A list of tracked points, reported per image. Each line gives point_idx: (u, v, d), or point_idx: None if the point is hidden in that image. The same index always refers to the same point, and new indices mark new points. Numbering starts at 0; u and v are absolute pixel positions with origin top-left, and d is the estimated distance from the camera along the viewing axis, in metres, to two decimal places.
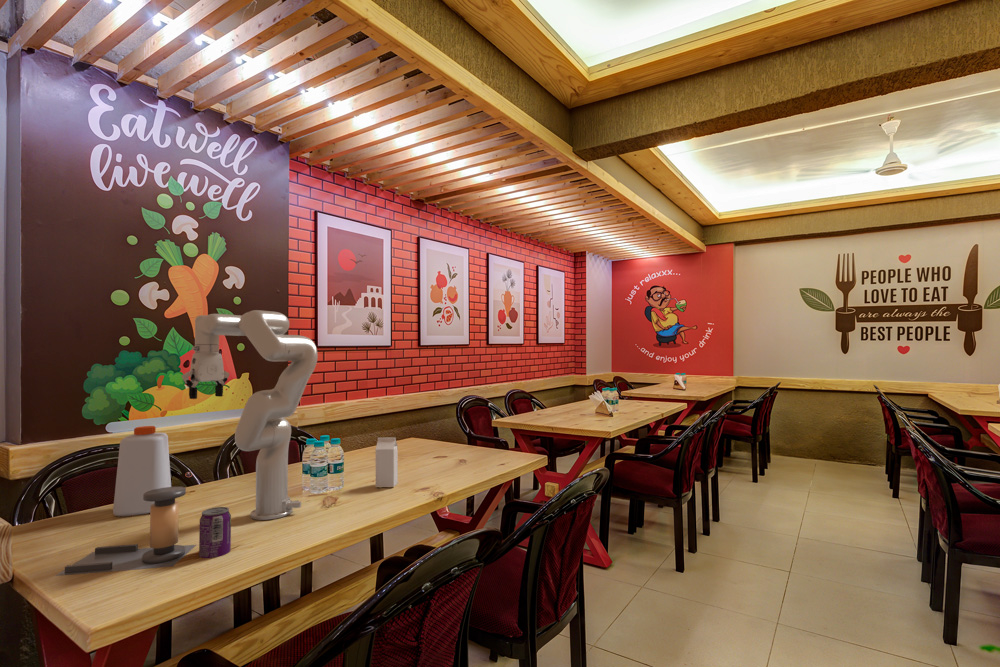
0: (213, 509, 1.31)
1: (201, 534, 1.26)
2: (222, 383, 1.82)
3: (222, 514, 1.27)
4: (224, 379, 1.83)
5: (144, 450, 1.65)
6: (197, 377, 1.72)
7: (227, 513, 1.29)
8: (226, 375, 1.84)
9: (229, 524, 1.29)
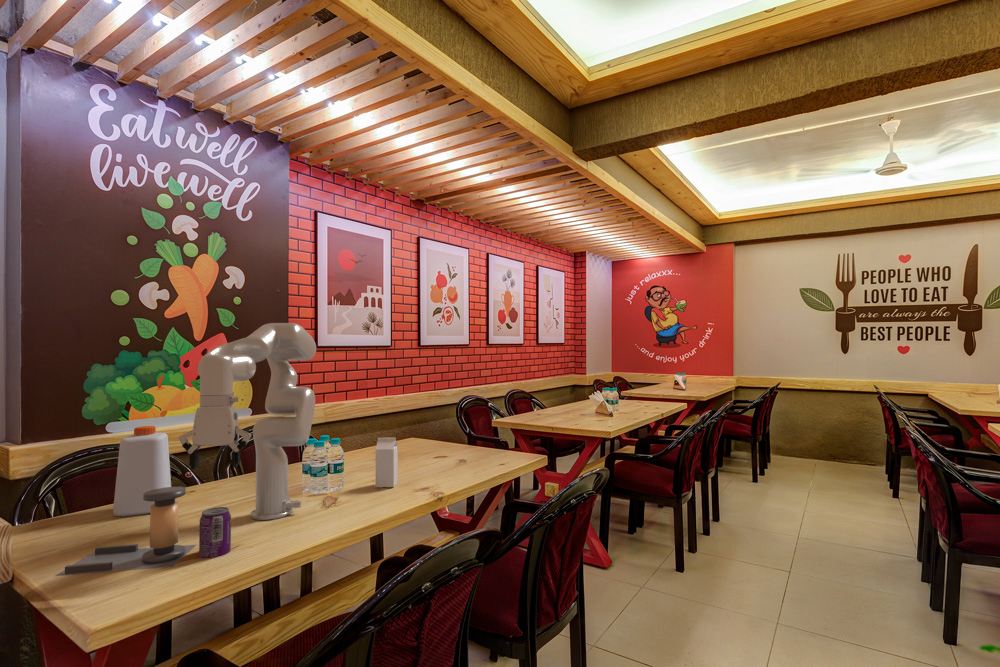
0: (213, 509, 1.31)
1: (201, 534, 1.26)
2: None
3: (222, 514, 1.27)
4: (190, 444, 1.30)
5: (144, 450, 1.65)
6: (238, 436, 1.33)
7: (227, 513, 1.29)
8: None
9: (229, 524, 1.29)
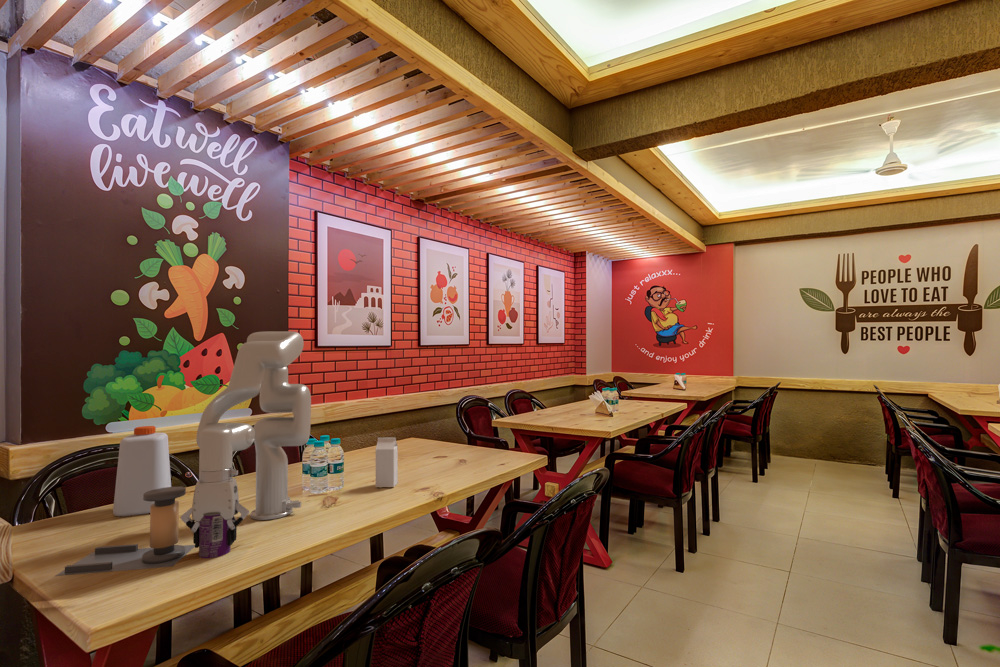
0: None
1: (201, 534, 1.26)
2: None
3: None
4: (193, 521, 1.29)
5: (144, 450, 1.65)
6: None
7: None
8: None
9: None
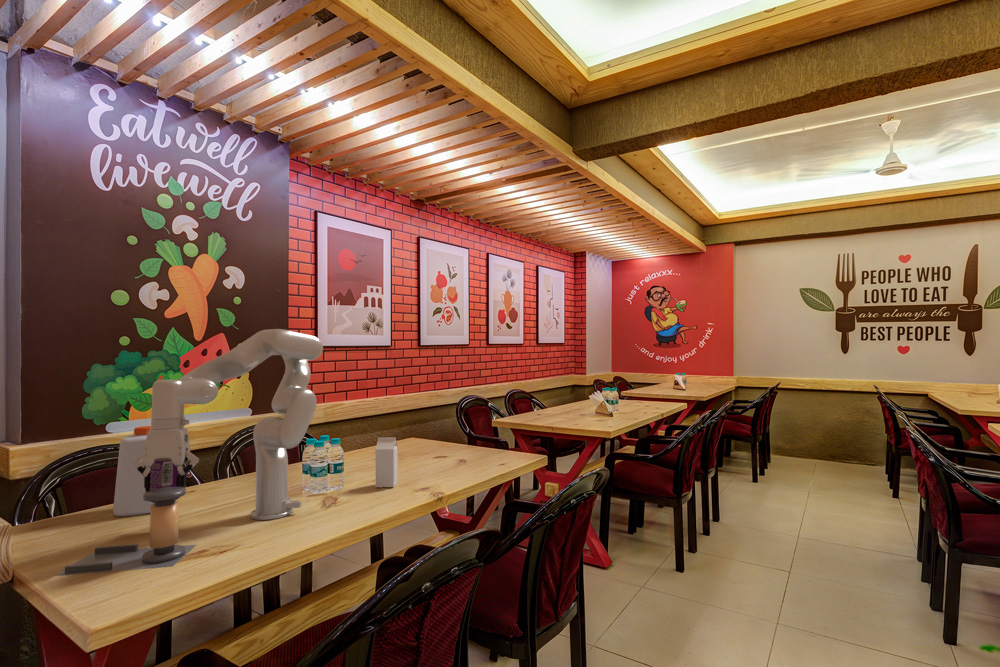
0: None
1: (151, 478, 1.33)
2: None
3: None
4: (145, 467, 1.36)
5: None
6: None
7: None
8: None
9: None
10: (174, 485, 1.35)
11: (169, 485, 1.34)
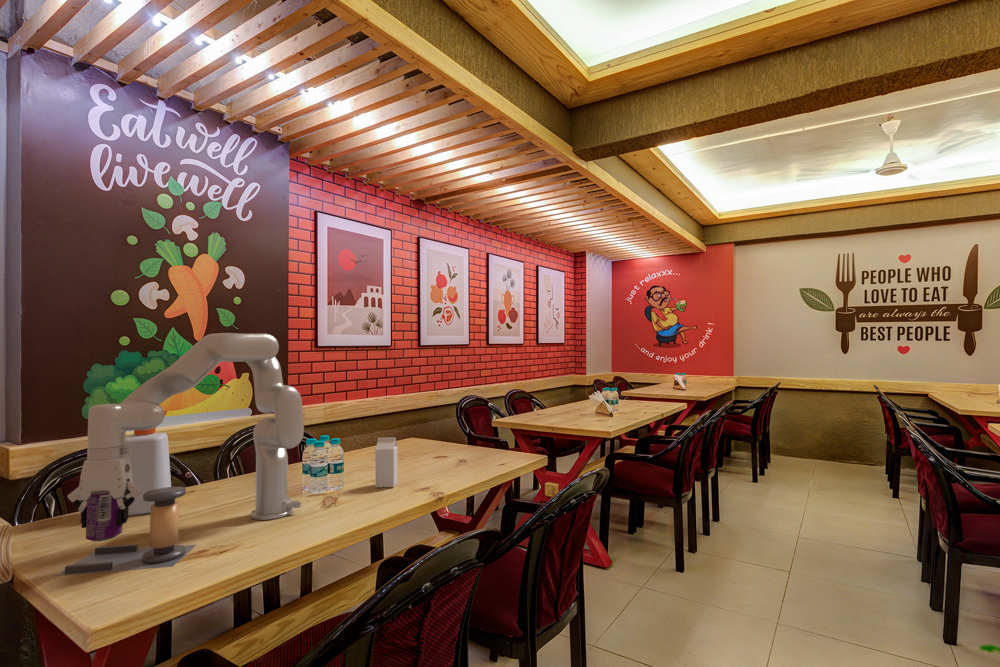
0: None
1: (87, 513, 1.21)
2: None
3: None
4: (82, 500, 1.24)
5: (144, 450, 1.65)
6: None
7: None
8: None
9: None
10: (113, 520, 1.23)
11: (107, 520, 1.22)
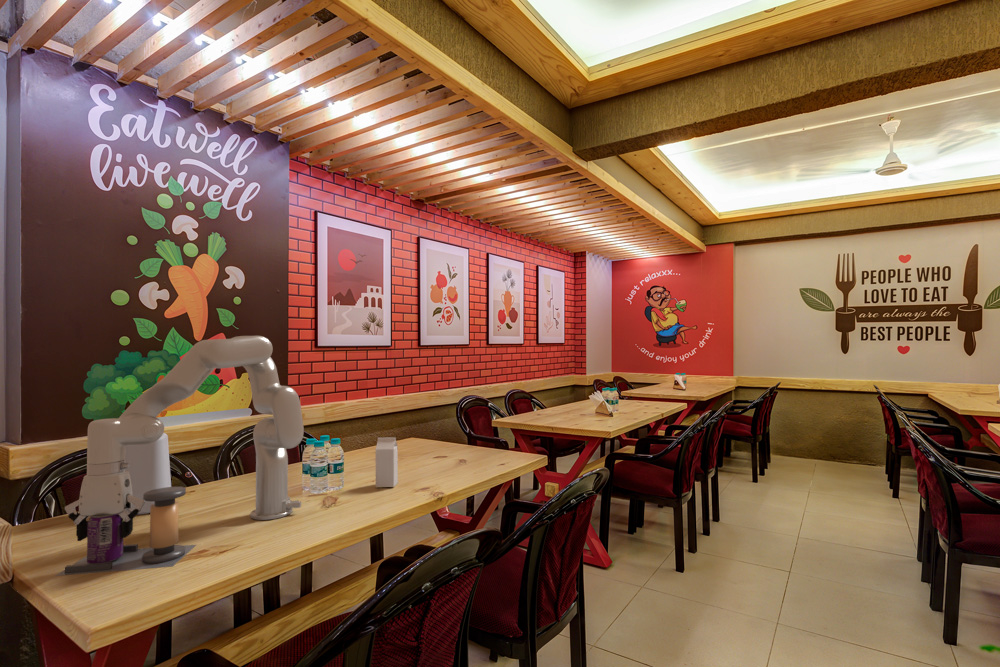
0: None
1: (88, 537, 1.21)
2: None
3: (112, 516, 1.23)
4: (78, 513, 1.24)
5: (144, 450, 1.65)
6: (132, 503, 1.28)
7: (118, 515, 1.25)
8: None
9: (120, 526, 1.25)
10: (114, 543, 1.23)
11: (108, 544, 1.22)
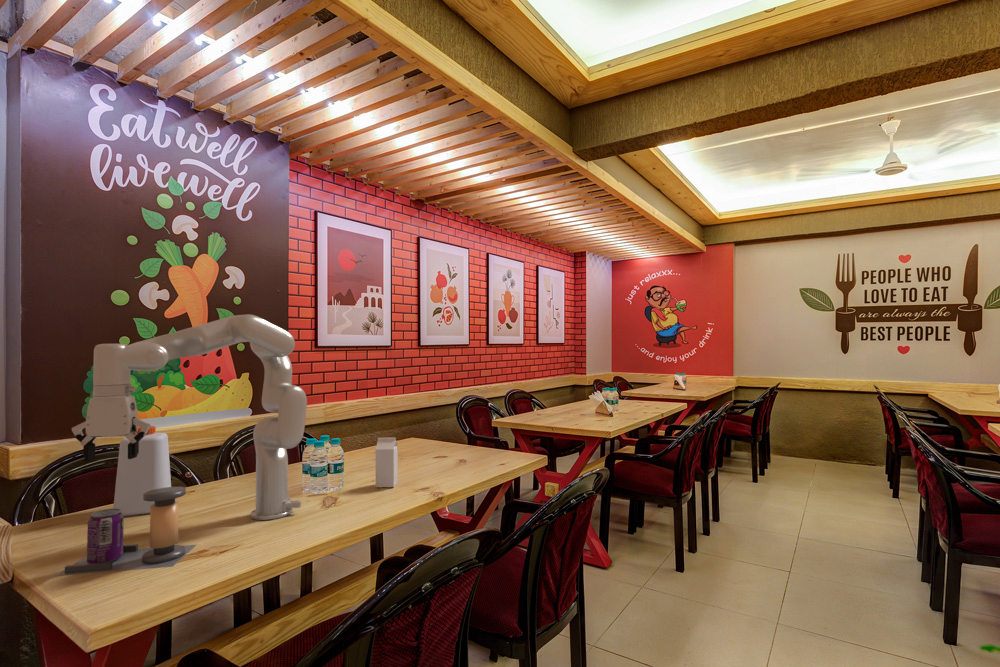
0: (105, 511, 1.26)
1: (88, 537, 1.21)
2: None
3: (112, 516, 1.23)
4: (85, 435, 1.26)
5: (144, 450, 1.65)
6: (137, 427, 1.30)
7: (118, 515, 1.25)
8: None
9: (120, 526, 1.25)
10: (114, 543, 1.23)
11: (108, 544, 1.22)
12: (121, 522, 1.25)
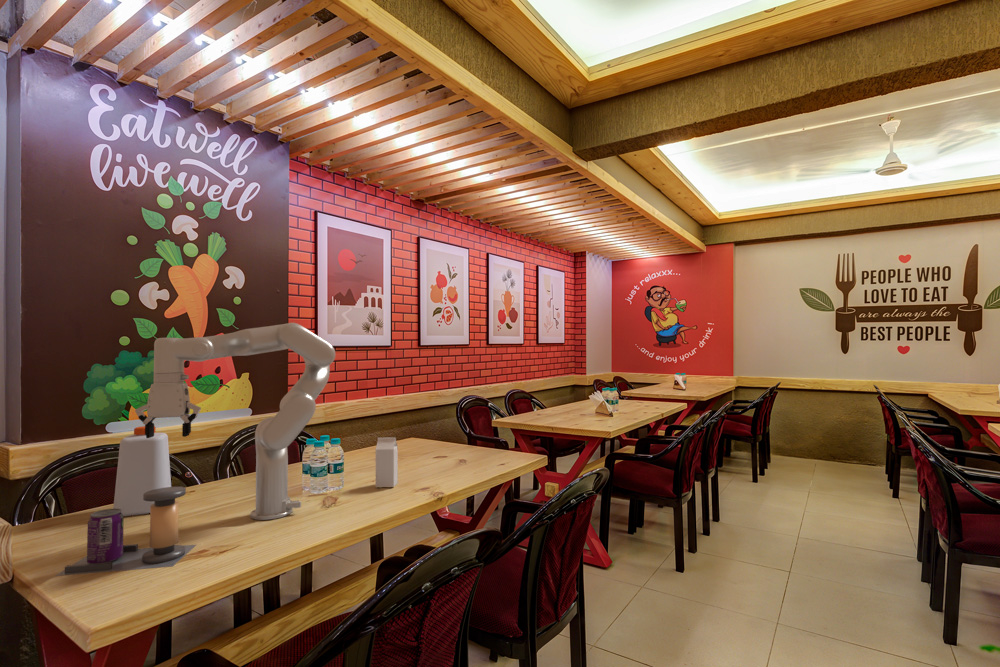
0: (105, 511, 1.26)
1: (88, 537, 1.21)
2: None
3: (112, 516, 1.23)
4: (146, 416, 1.47)
5: (144, 450, 1.65)
6: (189, 410, 1.51)
7: (118, 515, 1.25)
8: None
9: (120, 526, 1.25)
10: (114, 543, 1.23)
11: (108, 544, 1.22)
12: (121, 522, 1.25)
